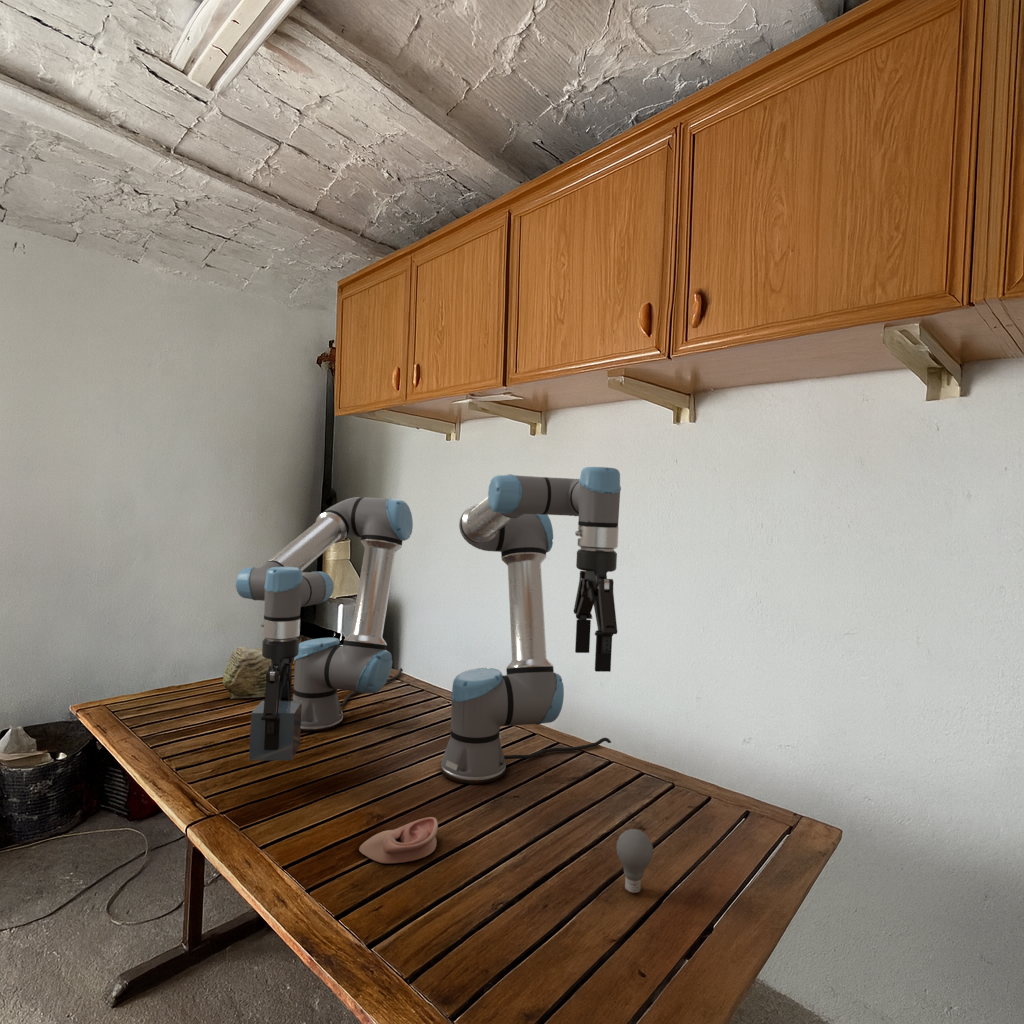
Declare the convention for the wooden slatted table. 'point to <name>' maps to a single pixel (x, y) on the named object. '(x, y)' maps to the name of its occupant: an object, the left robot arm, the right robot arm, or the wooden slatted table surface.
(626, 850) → the light bulb
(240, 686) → the fossil
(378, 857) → the anatomical model
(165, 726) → the wooden slatted table surface
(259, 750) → the block
